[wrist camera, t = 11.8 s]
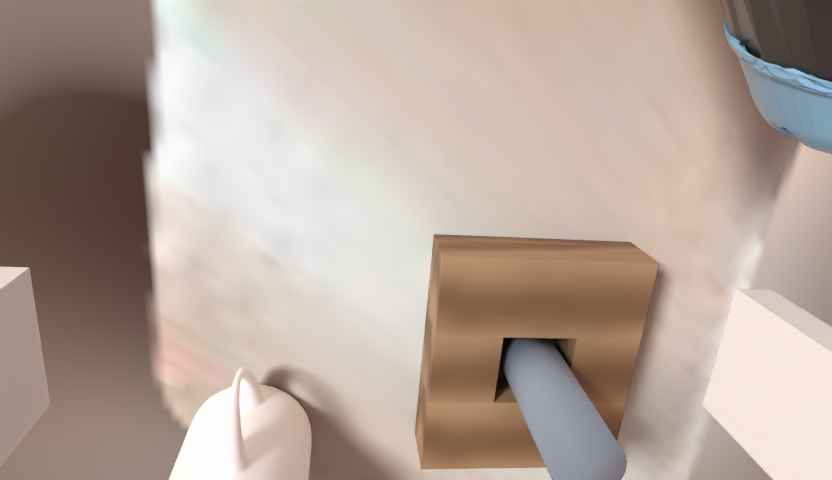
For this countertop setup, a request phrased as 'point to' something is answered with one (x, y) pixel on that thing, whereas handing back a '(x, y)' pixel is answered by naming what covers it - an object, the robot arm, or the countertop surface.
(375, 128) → the countertop surface
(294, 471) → the mug
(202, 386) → the countertop surface
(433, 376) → the board
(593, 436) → the dowel
